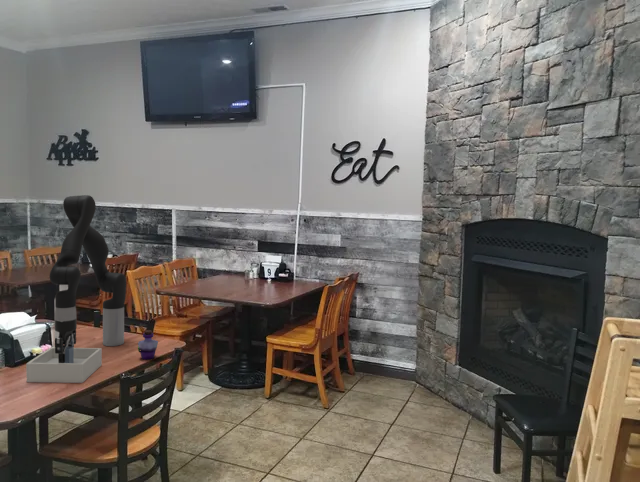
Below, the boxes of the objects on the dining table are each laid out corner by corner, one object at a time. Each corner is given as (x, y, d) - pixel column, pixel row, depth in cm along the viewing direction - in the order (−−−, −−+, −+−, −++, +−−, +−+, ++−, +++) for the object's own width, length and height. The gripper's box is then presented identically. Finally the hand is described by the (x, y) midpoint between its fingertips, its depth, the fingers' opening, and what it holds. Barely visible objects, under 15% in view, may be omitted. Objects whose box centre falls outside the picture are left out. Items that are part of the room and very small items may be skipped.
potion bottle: (135, 356, 225) (135, 329, 224) (155, 353, 229) (155, 327, 228) (140, 362, 218) (140, 334, 216) (160, 359, 222) (161, 331, 221)
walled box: (51, 364, 211) (51, 347, 211) (101, 364, 212) (101, 348, 212) (26, 382, 191) (26, 363, 191) (82, 382, 193) (82, 364, 192)
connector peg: (63, 371, 204) (63, 346, 203) (73, 371, 204) (73, 346, 203) (58, 374, 200) (58, 349, 199) (69, 374, 200) (69, 349, 199)
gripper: (63, 313, 207) (63, 354, 208) (47, 322, 193) (47, 365, 194) (83, 313, 207) (83, 354, 209) (67, 322, 193) (68, 366, 195)
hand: (66, 359), depth 201 cm, fingers open, 7 cm apart
